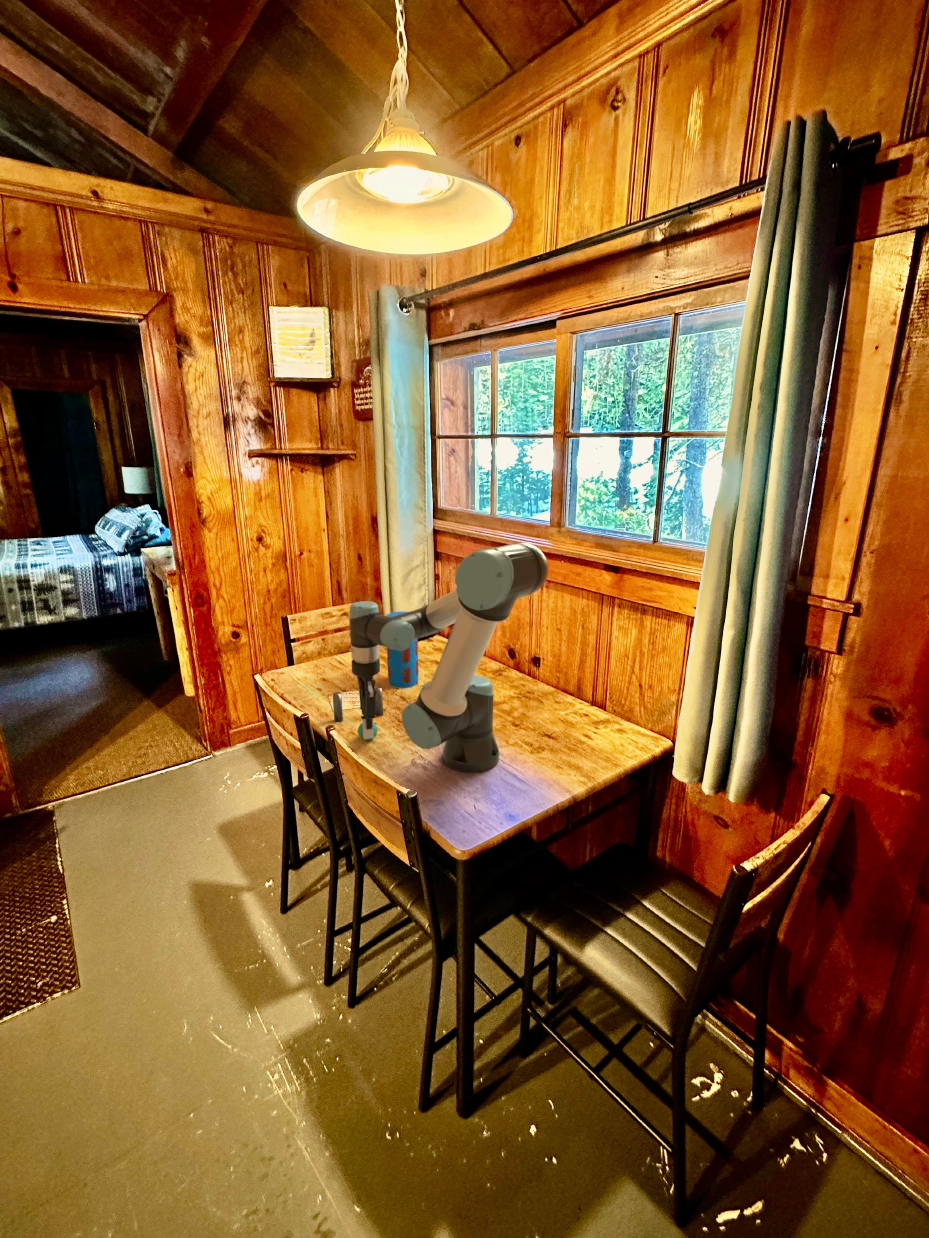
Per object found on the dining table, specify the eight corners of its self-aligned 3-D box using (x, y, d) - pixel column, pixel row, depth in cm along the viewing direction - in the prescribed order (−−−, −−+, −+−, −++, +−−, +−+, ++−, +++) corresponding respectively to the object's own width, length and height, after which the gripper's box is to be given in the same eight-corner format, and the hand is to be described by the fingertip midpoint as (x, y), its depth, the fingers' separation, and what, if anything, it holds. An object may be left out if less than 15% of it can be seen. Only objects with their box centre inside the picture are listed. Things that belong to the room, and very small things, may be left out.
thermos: (422, 678, 209) (421, 612, 202) (412, 689, 199) (410, 620, 192) (395, 675, 212) (392, 610, 205) (383, 686, 202) (380, 618, 195)
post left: (343, 721, 175) (341, 694, 173) (334, 723, 174) (333, 695, 172) (342, 718, 178) (340, 691, 175) (333, 719, 177) (331, 692, 174)
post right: (384, 715, 179) (382, 688, 177) (375, 716, 179) (374, 690, 176) (382, 712, 182) (381, 685, 179) (374, 713, 181) (372, 687, 178)
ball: (379, 740, 162) (378, 721, 162) (360, 743, 161) (358, 724, 160) (376, 735, 168) (374, 717, 167) (357, 739, 166) (355, 720, 165)
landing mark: (376, 705, 187) (376, 704, 187) (333, 711, 182) (333, 711, 182) (368, 689, 199) (368, 688, 199) (327, 695, 195) (327, 694, 195)
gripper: (347, 652, 158) (350, 729, 165) (356, 668, 147) (359, 750, 154) (373, 649, 161) (376, 725, 168) (385, 665, 149) (387, 746, 156)
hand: (368, 737), depth 161 cm, fingers closed
